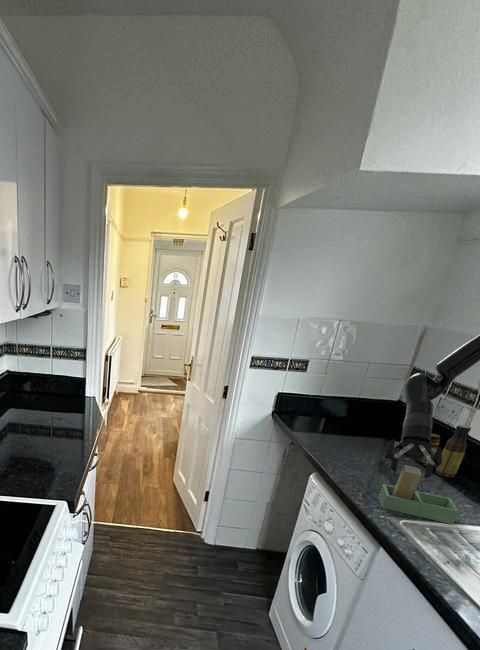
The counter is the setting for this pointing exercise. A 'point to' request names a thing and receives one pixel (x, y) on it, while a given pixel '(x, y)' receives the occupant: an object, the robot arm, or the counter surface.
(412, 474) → the cosmetic box
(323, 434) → the counter surface
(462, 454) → the sauce bottle
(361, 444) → the counter surface
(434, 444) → the condiment
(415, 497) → the holder
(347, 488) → the counter surface
